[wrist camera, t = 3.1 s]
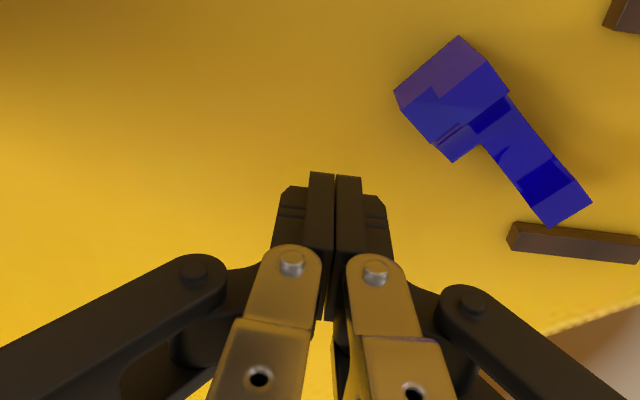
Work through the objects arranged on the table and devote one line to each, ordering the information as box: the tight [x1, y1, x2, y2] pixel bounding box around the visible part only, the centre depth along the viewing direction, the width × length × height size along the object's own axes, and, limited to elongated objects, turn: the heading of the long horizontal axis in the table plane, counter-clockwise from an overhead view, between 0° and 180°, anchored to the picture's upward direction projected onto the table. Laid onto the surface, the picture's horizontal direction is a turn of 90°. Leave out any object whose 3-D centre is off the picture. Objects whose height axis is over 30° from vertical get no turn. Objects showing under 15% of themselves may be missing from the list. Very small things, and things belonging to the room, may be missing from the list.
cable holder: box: [393, 35, 593, 229], centre depth 19 cm, size 8×4×4 cm, turn 44°
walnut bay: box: [506, 0, 640, 265], centre depth 21 cm, size 7×13×1 cm, turn 173°
